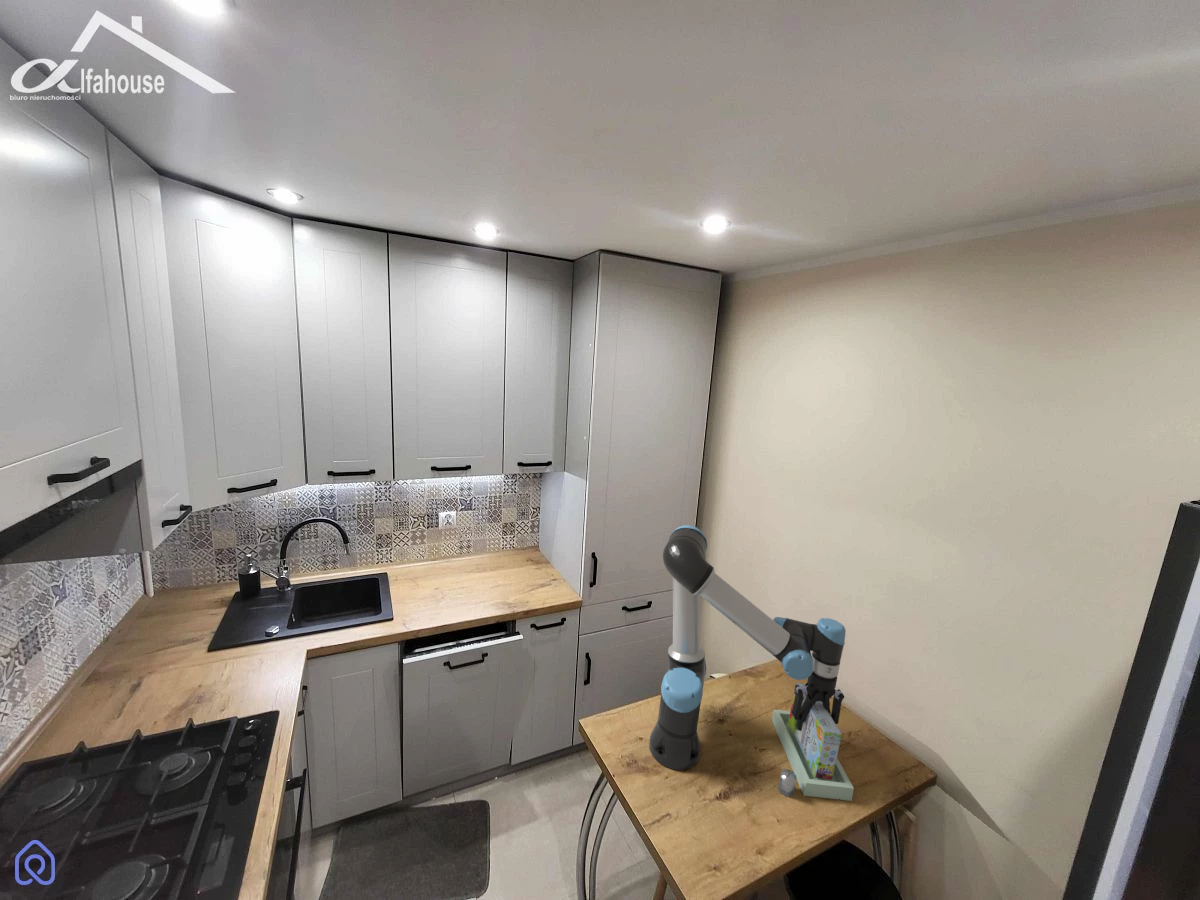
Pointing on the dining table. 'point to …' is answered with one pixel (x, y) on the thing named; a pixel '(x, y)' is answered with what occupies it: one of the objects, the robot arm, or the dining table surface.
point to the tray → (807, 782)
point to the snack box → (818, 739)
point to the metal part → (787, 782)
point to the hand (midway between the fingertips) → (810, 739)
